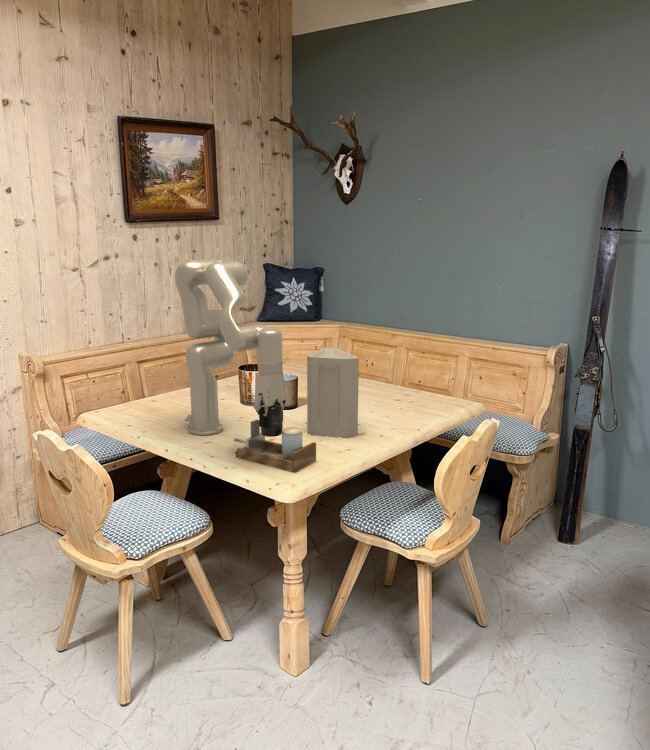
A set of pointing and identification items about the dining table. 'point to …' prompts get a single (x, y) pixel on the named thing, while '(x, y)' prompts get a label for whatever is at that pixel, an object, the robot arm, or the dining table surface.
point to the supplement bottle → (274, 421)
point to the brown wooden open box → (298, 462)
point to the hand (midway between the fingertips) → (271, 423)
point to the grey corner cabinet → (332, 393)
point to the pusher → (254, 438)
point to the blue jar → (291, 442)
